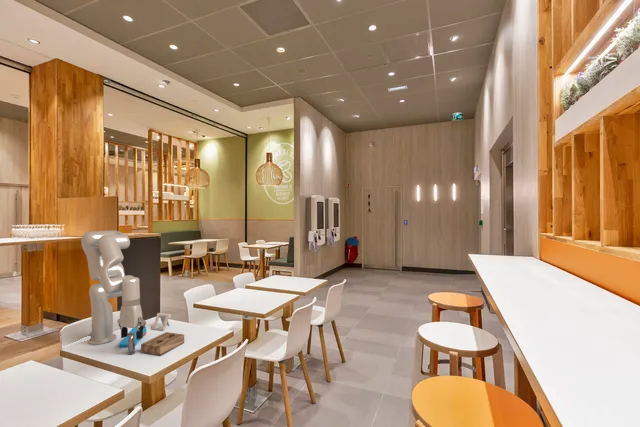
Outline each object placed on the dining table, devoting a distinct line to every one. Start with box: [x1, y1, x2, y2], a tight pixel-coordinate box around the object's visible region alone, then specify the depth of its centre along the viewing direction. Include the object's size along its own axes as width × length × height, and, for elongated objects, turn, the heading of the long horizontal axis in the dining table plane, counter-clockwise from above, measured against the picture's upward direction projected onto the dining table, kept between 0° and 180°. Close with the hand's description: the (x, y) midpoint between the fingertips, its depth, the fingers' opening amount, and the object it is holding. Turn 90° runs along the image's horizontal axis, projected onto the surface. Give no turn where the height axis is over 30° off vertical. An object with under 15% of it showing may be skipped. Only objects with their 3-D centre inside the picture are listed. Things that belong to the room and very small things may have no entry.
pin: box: [127, 332, 136, 356], centre depth 152 cm, size 3×3×10 cm
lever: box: [118, 326, 148, 349], centre depth 168 cm, size 7×7×18 cm
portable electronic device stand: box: [150, 312, 172, 332], centre depth 186 cm, size 9×8×8 cm
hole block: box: [140, 331, 185, 357], centre depth 158 cm, size 12×16×4 cm
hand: (132, 337), depth 152 cm, fingers open, 9 cm apart
